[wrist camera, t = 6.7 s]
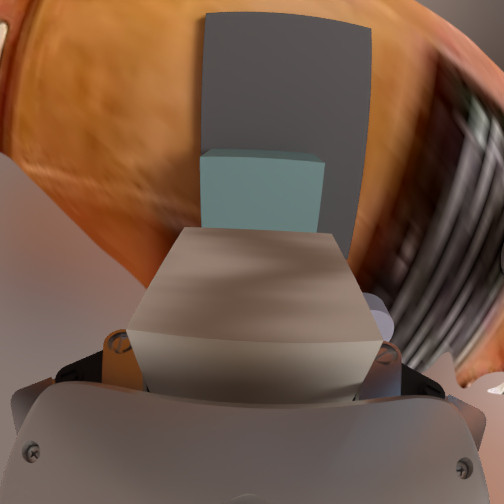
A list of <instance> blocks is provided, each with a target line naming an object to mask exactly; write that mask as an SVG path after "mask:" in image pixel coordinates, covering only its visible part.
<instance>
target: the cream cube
mask: <svg viewBox="0 0 504 504" xmlns="http://www.w3.org/2000/svg"><path fill="white" fill-rule="evenodd" d="M126 332H127V335H128V337H129V340H130V343H131V346H132V349H133V351H134V354H135V357H136V359H137V362H138V365H139V367H140V370H141V372H142V374H143V377H144V379H145V381H146V384H147V386H148V389H149V391H150V393H156V394H162V395H168V396H175V397H182V398H189V399H198V400H207V401H218V402H231V403H248V404H317V403H334V402H346V401H352V400H353V398H354V396H355V395H356V393H357V391H358V389H359V387H360V385H361V384H362V382H363V380H364V379H365V377H366V375H367V373H368V371H369V369H370V367H371V365H372V363H373V361H374V359H375V357H376V355H377V353H378V351H379V349H380V347H381V345H382V343H383V341H384V340H383V337H382V335H381V333H380V331H379V328H378V326H377V324H376V322H375V319H374V317H373V315H372V313H371V311H370V308H369V306H368V304H367V302H366V300H365V298H364V296H363V294H362V292H361V289H360V287H359V285H358V283H357V281H356V279H355V277H354V275H353V273H352V271H351V269H350V267H349V265H348V263H347V262H346V260H345V258H344V256H343V254H342V252H341V250H340V248H339V246H338V244H337V243H336V241H335V239H334V237H333V235H332V234H328V233H311V232H294V231H274V230H254V229H230V228H204V227H184V229H183V230H182V232H181V233H180V235H179V237H178V238H177V240H176V241H175V243H174V245H173V246H172V248H171V250H170V251H169V253H168V255H167V256H166V258H165V259H164V261H163V263H162V265H161V266H160V268H159V270H158V271H157V273H156V275H155V276H154V278H153V280H152V282H151V283H150V285H149V287H148V289H147V290H146V292H145V294H144V296H143V298H142V299H141V301H140V303H139V305H138V307H137V309H136V310H135V312H134V314H133V316H132V318H131V320H130V321H129V323H128V325H127V328H126Z"/></svg>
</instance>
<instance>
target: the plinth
mask: <svg viewBox="0 0 504 504" xmlns="http://www.w3.org/2000/svg"><path fill="white" fill-rule="evenodd" d="M324 168H325V163H324V162H323V161H322V160H321V159H319V158H318V157H317V156H315V155H314V154H310V153H299V152H286V151H271V150H250V149H211V150H209V151H208V152H206V153H205V154H203V155H202V156H200V196H201V226H202V227H204V228H230V229H254V230H274V231H294V232H311V233H317V226H318V218H319V211H320V203H321V195H322V186H323V177H324Z"/></svg>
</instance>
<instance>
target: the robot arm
mask: <svg viewBox="0 0 504 504" xmlns="http://www.w3.org/2000/svg"><path fill="white" fill-rule="evenodd" d="M501 268H502V271H503V273H504V243H503V247H502V253H501ZM11 408H12V414H13V419H14V424H15V429H16V433H17V438H16V441H15V443H14V445H13V448H12V451H11V453H10V456H9V459H8V462H7V465H6V468H5V471H4V474H3V478H2V482H1V486H0V504H490V500H489V494H488V489H487V484H486V480H485V476H484V472H483V468H482V465H481V461H480V457H479V454H478V451H479V448H480V444H481V441H482V437H483V433H484V430H485V426H486V417H485V415H484V413H483V412H482V411H480V410H479V409H477V408H475V407H473V406H471V405H469V404H467V403H465V402H463V401H462V400H459V399H458V398H456V397H453V396H451V395H450V394H449V395H448V396H445V392H444V390H443V388H442V387H441V386H440V385H439V384H438V383H437V382H435V381H433V380H431V379H429V378H428V377H426V376H424V375H422V374H420V373H419V372H417V371H415V370H413V369H411V368H409V367H408V366H406V365H404V364H402V356H401V352H400V351H399V349H398V348H397V347H396V346H395V345H393V344H392V343H390V342H387V341H383V343H382V345H381V347H380V349H379V351H378V353H377V355H376V357H375V359H374V361H373V363H372V365H371V367H370V369H369V371H368V373H367V375H366V377H365V379H364V380H363V382H362V384H361V385H360V387H359V389H358V391H357V393H356V395H355V396H354V398H353V400H352V401H346V402H334V403H317V404H248V403H231V402H218V401H207V400H198V399H189V398H182V397H175V396H168V395H162V394H156V393H150V391H149V389H148V386H147V384H146V381H145V379H144V377H143V374H142V372H141V370H140V367H139V365H138V362H137V359H136V357H135V354H134V351H133V349H132V346H131V343H130V340H129V337H128V335H127V332H126V329H121V330H117V331H114V332H112V333H111V334H109V335H108V336H107V337H106V339H105V341H104V345H103V350H102V351H100V352H97V353H95V354H93V355H90V356H88V357H86V358H83V359H81V360H79V361H76V362H74V363H72V364H69V365H67V366H65V367H63V368H62V369H61V370H60V371H59V372H58V373H57V375H56V378H55V379H52V378H51V377H50V378H47V379H45V380H42V381H40V382H37V383H35V384H32V385H30V386H27V387H24V388H22V389H19V390H17V391H16V392H15V393H14V394H13V395H12V398H11Z"/></svg>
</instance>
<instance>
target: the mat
mask: <svg viewBox="0 0 504 504" xmlns="http://www.w3.org/2000/svg"><path fill="white" fill-rule="evenodd" d="M371 62H372V39H371V28H367V27H363V26H359V25H355V24H350V23H346V22H341V21H336V20H330V19H325V18H318V17H312V16H304V15H295V14H285V13H270V12H218V13H206V19H205V33H204V50H203V70H202V99H201V156H202V155H203V154H205V153H206V152H208V151H209V150H211V149H250V150H271V151H286V152H299V153H310V154H314V155H315V156H317V157H318V158H319V159H321V160H322V161H323V162H324V163H325V168H324V177H323V186H322V195H321V203H320V211H319V218H318V226H317V233H328V234H332V235H333V237H334V239H335V241H336V243H337V244H338V246H339V248H340V250H341V252H342V254H343V256H344V258H345V259H348V254H349V250H350V245H351V240H352V235H353V230H354V224H355V219H356V213H357V208H358V202H359V196H360V189H361V182H362V175H363V168H364V160H365V152H366V143H367V133H368V122H369V109H370V92H371Z"/></svg>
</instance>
